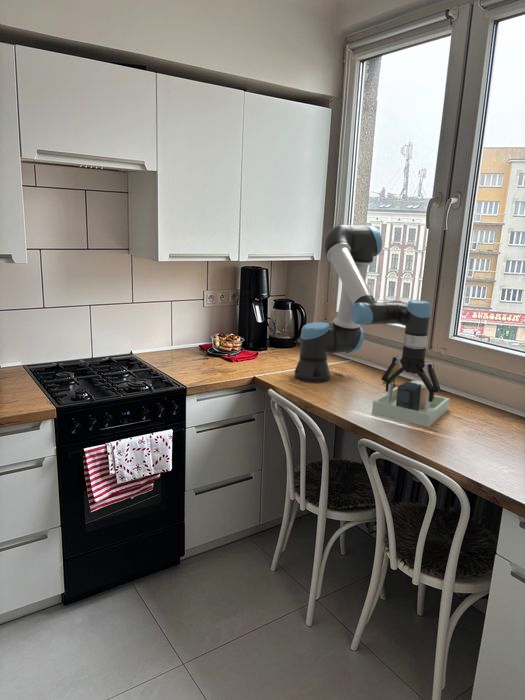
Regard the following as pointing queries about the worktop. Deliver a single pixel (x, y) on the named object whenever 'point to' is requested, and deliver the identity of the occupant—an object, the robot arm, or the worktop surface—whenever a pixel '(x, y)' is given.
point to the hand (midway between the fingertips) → (407, 405)
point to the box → (409, 395)
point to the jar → (422, 394)
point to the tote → (408, 415)
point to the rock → (393, 373)
